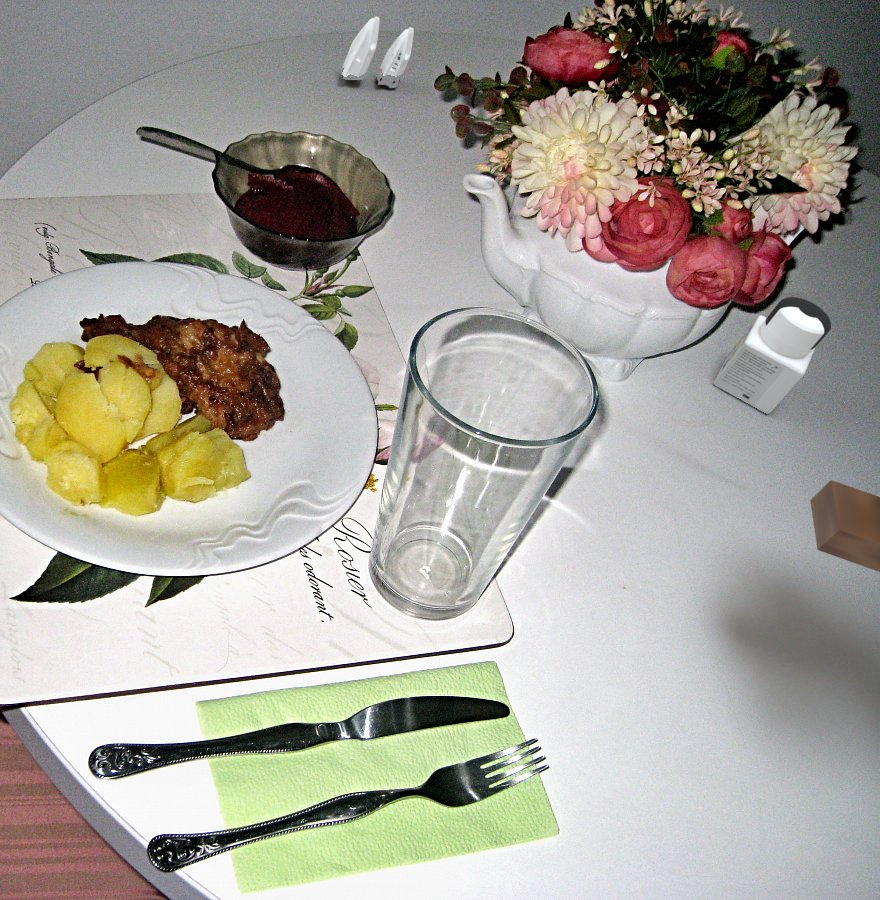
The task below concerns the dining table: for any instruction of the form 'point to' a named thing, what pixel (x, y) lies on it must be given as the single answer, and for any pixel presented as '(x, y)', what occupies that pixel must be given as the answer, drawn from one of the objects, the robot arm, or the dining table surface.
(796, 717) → the dining table surface
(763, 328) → the container
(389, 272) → the dining table surface
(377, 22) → the shaker set
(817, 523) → the wooden brick
